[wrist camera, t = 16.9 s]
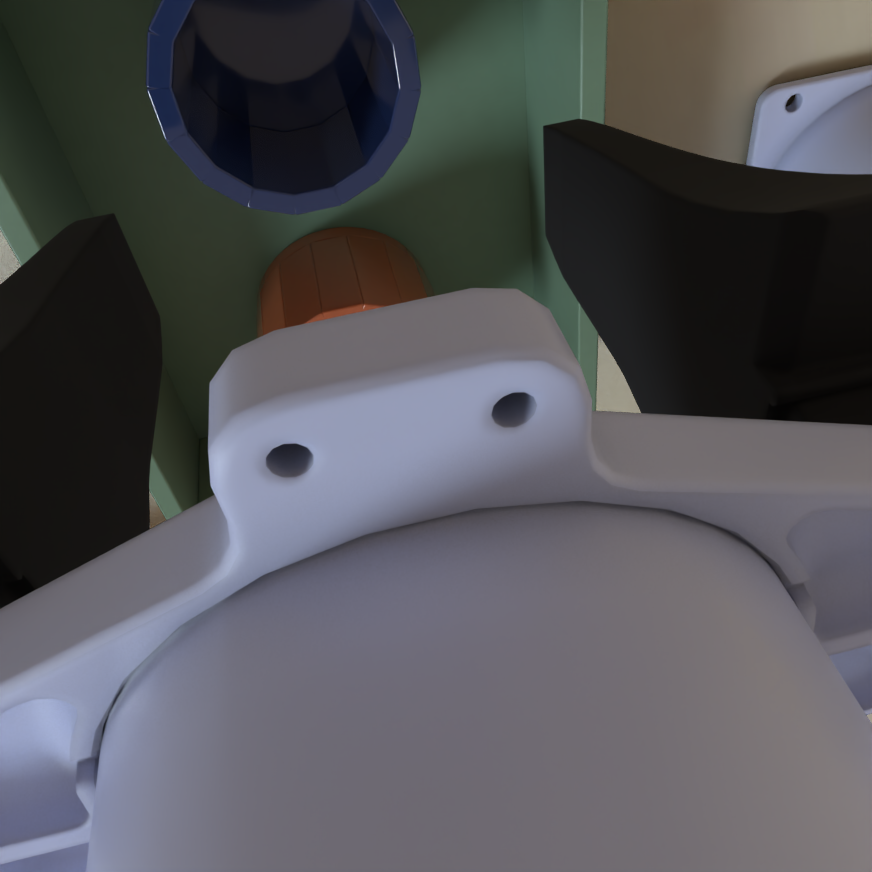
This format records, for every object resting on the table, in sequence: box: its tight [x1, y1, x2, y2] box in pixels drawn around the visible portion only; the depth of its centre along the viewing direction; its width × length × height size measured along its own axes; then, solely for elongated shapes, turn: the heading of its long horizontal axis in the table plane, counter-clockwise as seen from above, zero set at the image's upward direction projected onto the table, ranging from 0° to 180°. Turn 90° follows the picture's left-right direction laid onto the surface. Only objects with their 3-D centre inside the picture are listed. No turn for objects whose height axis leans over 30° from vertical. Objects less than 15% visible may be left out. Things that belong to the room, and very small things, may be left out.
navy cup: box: [146, 0, 422, 215], centre depth 17 cm, size 5×5×4 cm
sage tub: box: [0, 0, 608, 520], centre depth 20 cm, size 13×17×5 cm
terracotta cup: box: [256, 227, 435, 338], centre depth 23 cm, size 5×5×4 cm
